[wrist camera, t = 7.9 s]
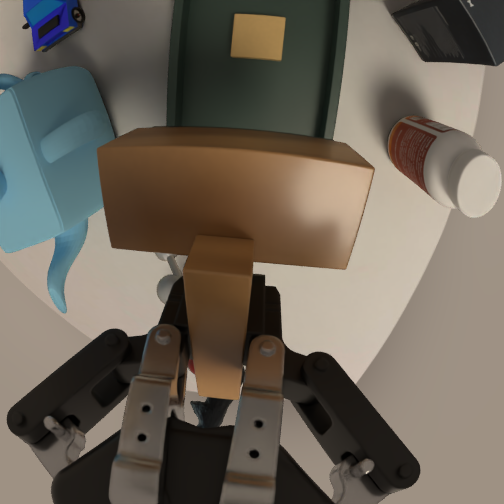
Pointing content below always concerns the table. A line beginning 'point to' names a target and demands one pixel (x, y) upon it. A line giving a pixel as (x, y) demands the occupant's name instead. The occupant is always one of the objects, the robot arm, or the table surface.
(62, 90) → the teapot
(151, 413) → the robot arm
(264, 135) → the brush
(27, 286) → the table surface
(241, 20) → the tan square tile
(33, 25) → the toy car
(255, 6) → the tray
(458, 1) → the box
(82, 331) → the table surface
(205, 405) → the sculpture
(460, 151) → the pill bottle
